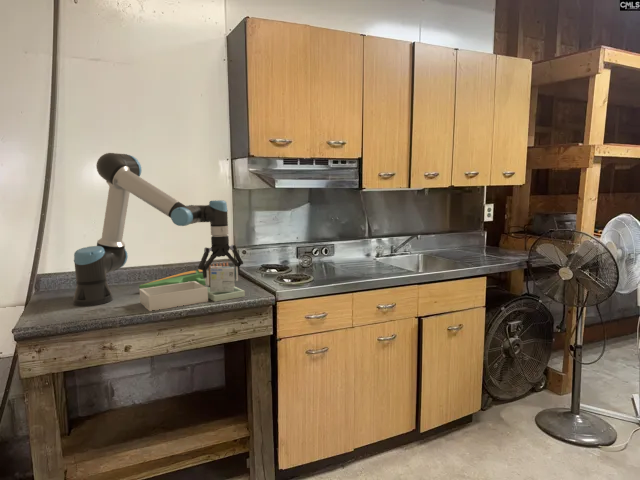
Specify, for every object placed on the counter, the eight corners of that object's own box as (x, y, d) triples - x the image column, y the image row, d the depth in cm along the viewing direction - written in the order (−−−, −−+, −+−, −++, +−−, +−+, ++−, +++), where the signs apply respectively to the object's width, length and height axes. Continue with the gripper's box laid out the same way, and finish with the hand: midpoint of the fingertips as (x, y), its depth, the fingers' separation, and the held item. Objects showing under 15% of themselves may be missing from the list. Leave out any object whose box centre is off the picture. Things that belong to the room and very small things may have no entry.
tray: (214, 301, 190) (214, 295, 189) (200, 293, 204) (200, 288, 203) (245, 296, 198) (244, 290, 197) (229, 289, 212) (229, 284, 211)
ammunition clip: (229, 285, 220) (228, 261, 219) (230, 285, 219) (229, 261, 217) (208, 288, 214) (207, 263, 213) (209, 289, 213) (208, 264, 211)
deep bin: (149, 311, 177) (148, 296, 177) (140, 302, 191) (139, 289, 190) (208, 301, 191) (207, 287, 190) (195, 293, 204) (194, 281, 203)
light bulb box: (233, 289, 205) (234, 265, 204) (234, 292, 198) (235, 267, 198) (209, 289, 202) (210, 265, 201) (209, 292, 196) (210, 267, 195)
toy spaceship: (143, 296, 203) (141, 280, 202) (136, 291, 211) (135, 276, 210) (209, 285, 222) (208, 270, 221) (200, 281, 231) (200, 267, 230)
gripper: (194, 238, 187) (197, 288, 190) (249, 233, 201) (251, 280, 204) (189, 237, 193) (191, 285, 196) (242, 232, 207) (244, 277, 210)
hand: (222, 282), depth 200 cm, fingers open, 13 cm apart
